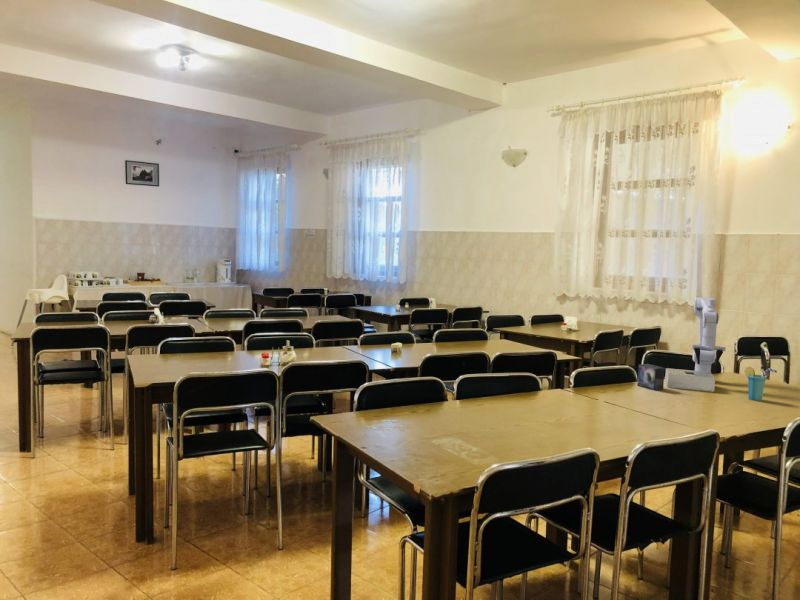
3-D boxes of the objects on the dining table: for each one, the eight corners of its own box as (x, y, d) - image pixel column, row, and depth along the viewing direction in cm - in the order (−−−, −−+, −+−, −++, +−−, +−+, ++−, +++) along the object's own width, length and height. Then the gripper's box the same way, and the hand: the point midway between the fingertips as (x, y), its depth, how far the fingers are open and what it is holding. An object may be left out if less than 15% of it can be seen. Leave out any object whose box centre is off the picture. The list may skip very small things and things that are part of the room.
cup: (778, 402, 270) (781, 368, 269) (769, 404, 266) (772, 370, 265) (745, 395, 282) (748, 363, 281) (736, 397, 277) (739, 364, 276)
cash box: (665, 381, 309) (665, 368, 309) (709, 385, 303) (710, 372, 302) (667, 387, 294) (668, 373, 294) (714, 391, 288) (715, 378, 287)
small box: (636, 385, 295) (637, 364, 295) (646, 385, 298) (647, 363, 297) (653, 390, 286) (655, 368, 285) (663, 389, 289) (665, 367, 288)
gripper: (693, 336, 298) (691, 364, 298) (727, 338, 293) (725, 367, 293) (692, 335, 304) (690, 362, 305) (724, 337, 300) (722, 365, 300)
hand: (707, 364), depth 300 cm, fingers open, 7 cm apart
